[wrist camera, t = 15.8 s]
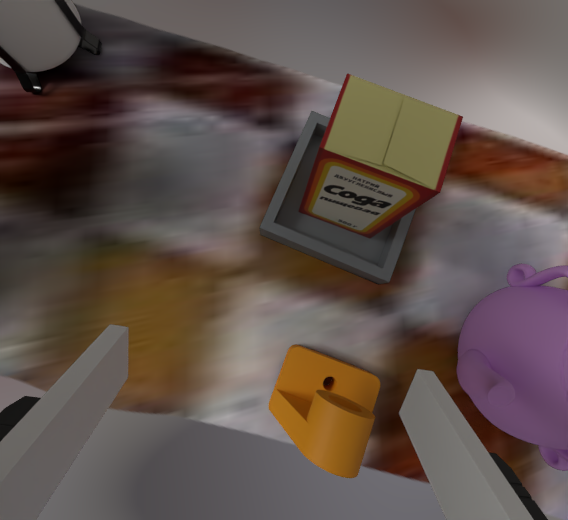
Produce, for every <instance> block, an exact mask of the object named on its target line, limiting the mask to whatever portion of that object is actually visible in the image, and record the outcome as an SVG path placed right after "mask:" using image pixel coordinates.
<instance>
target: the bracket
mask: <svg viewBox="0 0 568 520" xmlns="http://www.w3.org/2000/svg"><path fill="white" fill-rule="evenodd" d="M329 376H331V377H332V381H331V383H330V384H328V385H323V381H324V379H325V378H326V377H329ZM379 389H380V381H379V379H378V378H377V377H376V376H375V375H373V374H372V373H370V372H368V371H365V370H363V369H360V368H357V367H355V366H354V365H351V364H348V363H346V362H343V361H341V360H338V359H335V358H333V357H330V356H328V355H325V354H322V353H320V352H317V351H315V350H312V349H308V348H305V347H303V346H300V345H292V346H291V347H290V348H289V349H288V352H287V355H286V357H285V360H284V363H283V366H282V368H281V371H280V374H279V377H278V379H277V382H276V385H275V388H274V390H273V393H272V396H271V399H270V401H269V410H270V411H271V413H272V414H273V415H274V417H275V418H276V419H277V421H278V422H279V423H280V424H281V426H282V427H283V428H284V430H285V431H286V432H287V434H288V435H289V436H290V438H291V439H292V440H293V442H294V443H295V444H296V446H297V447H298V448H299V450H300V451H301V452H302V453H303V455H304V456H305V457H307V458H308V459H309V460H310V461H311V462H313V463H314V464H316V465H317V466H318V467H320V468H322V469H324V470H326V471H328V472H330V473H332V474H335V475H337V476H341V477H345V478H354V477H356V476H357V475H358V472H359V469H360V466H361V462H362V459H363V456H364V453H365V449H366V446H367V443H368V440H369V436H370V433H371V430H372V426H373V423H374V420H375V416H374V415H373V414H372V412H373V409H374V405H375V402H376V399H377V396H378V392H379Z"/></svg>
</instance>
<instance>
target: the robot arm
mask: <svg viewBox="0 0 568 520" xmlns="http://www.w3.org/2000/svg"><path fill="white" fill-rule="evenodd" d="M127 378H128V327H124V326H117V325H111V324H110V325H109V326H108V327H107V328H106V329H105V330H104V331H103V332H102V333H101V335H100V336H99V337H98V338H97V339H96V340H95V341H94V342H93V343H92V344H91V345H90V346H89V347H88V348H87V350H86V351H85V352H84V353H83V354H82V355H81V356H80V357H79V358H78V359H77V360H76V361H75V362H74V363H73V365H72V366H71V367H70V368H69V369H68V370H67V371H66V372H65V373H64V374H63V375H62V376H61V377H60V378H59V380H58V381H57V382H56V383H55V384H54V385H53V386H52V387H51V388H50V389H49V390H48V391H47V392H46V393H45V395H44V396H43V397H42V398H37V397H29V396H24V397H23V398H21V399H19V400H18V401H16V402H14V403H13V404H11V405H9V406H8V407H6V408H5V409H4V410H3V411H2V412H1V413H0V520H36V519H37V517H38V516H39V514H40V513H41V511H42V510H43V508H44V507H45V505H46V504H47V502H48V501H49V499H50V497H51V496H52V494H53V493H54V491H55V490H56V488H57V487H58V485H59V483H60V482H61V480H62V479H63V477H64V476H65V474H66V473H67V471H68V469H69V468H70V466H71V465H72V463H73V462H74V460H75V459H76V457H77V455H78V454H79V452H80V451H81V449H82V448H83V446H84V445H85V443H86V441H87V440H88V439H89V437H90V435H91V434H92V432H93V430H94V429H95V428H96V426H97V425H98V423H99V421H100V420H101V418H102V417H103V415H104V414H105V412H106V411H107V409H108V408H109V406H110V404H111V403H112V401H113V400H114V398H115V397H116V395H117V394H118V392H119V390H120V389H121V387H122V386H123V384H124V383H125V381H126V380H127ZM399 415H400V417H401V419H402V422H403V424H404V426H405V428H406V430H407V433H408V435H409V437H410V439H411V442H412V444H413V446H414V448H415V451H416V453H417V455H418V457H419V460H420V462H421V464H422V466H423V469H424V471H425V473H426V475H427V478H428V480H429V482H430V484H431V487H432V489H433V491H434V493H435V495H436V498H437V500H438V502H439V504H440V507H441V509H442V511H443V513H444V516H445V518H446V520H548V519H547V518H546V517H545V515H544V514H543V512H542V511H541V510H540V508H539V507H538V505H537V504H536V503H535V501H534V500H532V498H531V496H530V494H529V493H528V491H527V490H526V489H525V487H523V486H522V483H521V482H520V480H519V479H518V477H517V476H516V475H515V473H514V472H513V470H512V469H511V468H510V467H509V466H508V465H507V464H506V463H505V462H504V461H503V460H502V459H501V458H500V457H499V456H498V455H497V454H495V453H488V452H487V450H486V449H485V447H484V446H483V444H482V443H481V441H480V440H479V438H478V437H477V435H476V434H475V432H474V431H473V429H472V428H471V426H470V425H469V424H468V422H467V421H466V419H465V418H464V416H463V415H462V413H461V412H460V410H459V409H458V407H457V406H456V404H455V403H454V401H453V400H452V398H451V397H450V396H449V394H448V393H447V391H446V390H445V388H444V387H443V385H442V384H441V382H440V381H439V379H438V378H437V376H436V375H435V373H434V372H433V371H427V370H420V369H417V372H416V374H415V376H414V379H413V381H412V383H411V386H410V388H409V390H408V393H407V395H406V398H405V400H404V402H403V405H402V407H401V409H400V412H399Z"/></svg>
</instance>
